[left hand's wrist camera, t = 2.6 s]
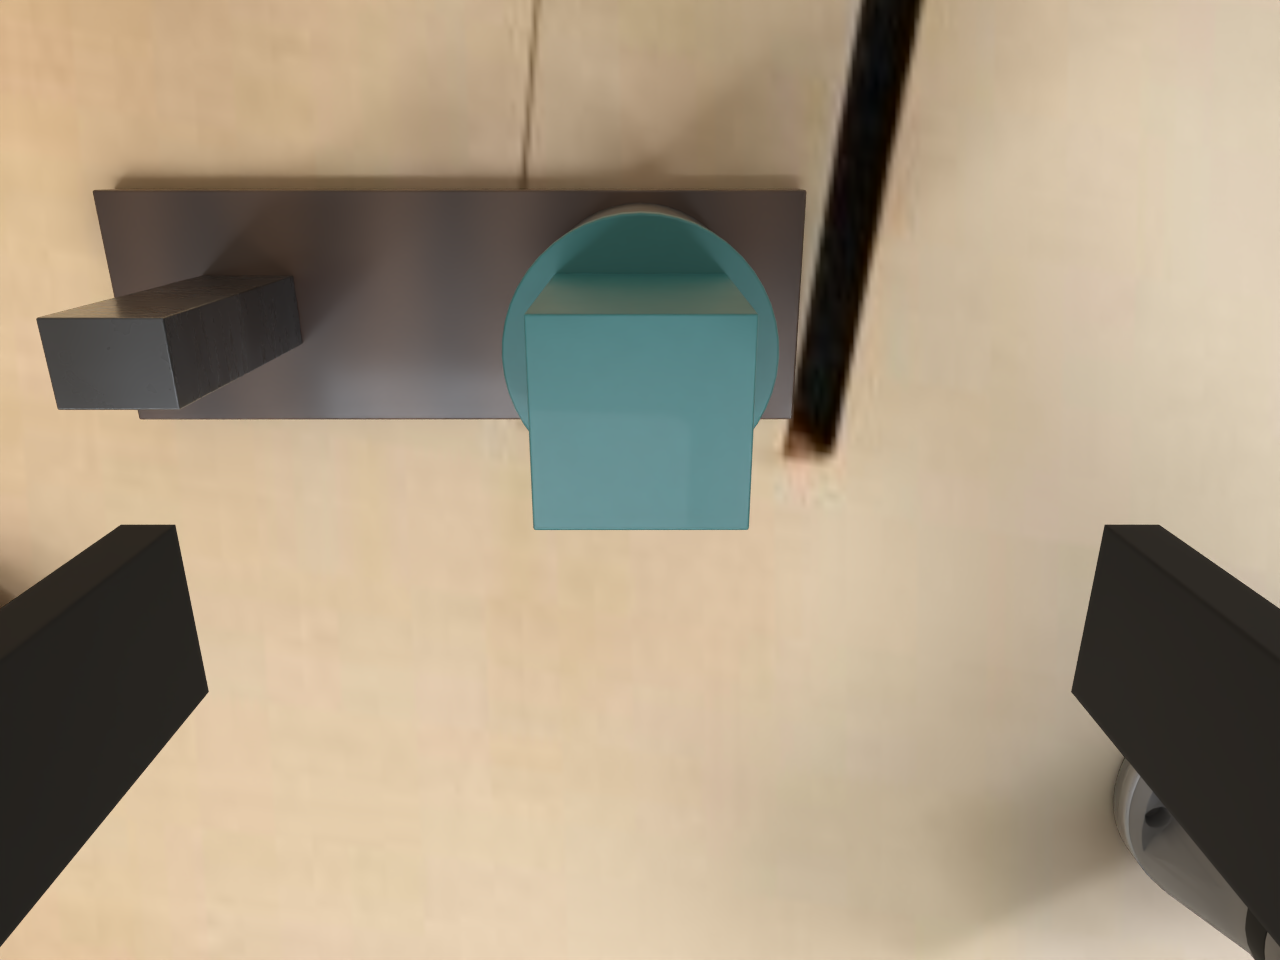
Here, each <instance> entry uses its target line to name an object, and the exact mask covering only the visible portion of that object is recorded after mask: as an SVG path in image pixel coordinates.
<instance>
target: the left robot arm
mask: <svg viewBox="0 0 1280 960" xmlns="http://www.w3.org/2000/svg"><path fill="white" fill-rule="evenodd" d="M208 692H209V691H208V686H207V681H206V676H205V671H204V666H203V661H202V656H201V651H200V646H199V641H198V636H197V631H196V626H195V621H194V616H193V611H192V606H191V601H190V596H189V591H188V586H187V581H186V576H185V571H184V566H183V561H182V556H181V551H180V546H179V541H178V536H177V531H176V526H175V525H120V526H119V527H117V528H116V529H114V530H113V531H111V532H110V533H108V534H107V535H106V536H104V537H103V538H101V539H100V540H98V541H97V542H96V543H94V544H93V545H91V546H90V547H88V548H87V549H85V550H84V551H83V552H81V553H80V554H78V555H77V556H75V557H74V558H73V559H71V560H70V561H68V562H67V563H65V564H64V565H62V566H61V567H60V568H58V569H57V570H55V571H54V572H52V573H51V574H50V575H48V576H47V577H45V578H44V579H42V580H41V581H40V582H38V583H37V584H35V585H34V586H32V587H31V588H29V589H28V590H27V591H25V592H24V593H22V594H21V595H19V596H18V597H17V598H15V599H14V600H12V601H11V602H9V603H8V604H6V605H5V606H4V607H2V608H1V609H0V947H1V945H2V944H3V943H4V942H5V941H6V939H7V938H8V937H9V936H10V934H11V933H12V932H13V931H14V930H15V928H16V927H17V926H18V925H19V923H20V922H21V921H22V920H23V918H24V917H25V916H26V915H27V914H28V912H29V911H30V910H31V909H32V907H33V906H34V905H35V904H36V903H37V901H38V900H39V899H40V898H41V896H42V895H43V894H44V893H45V892H46V890H47V889H48V888H49V887H50V885H51V884H52V883H53V882H54V881H55V879H56V878H57V877H58V876H59V874H60V873H61V872H62V871H63V870H64V868H65V867H66V866H67V865H68V863H69V862H70V861H71V860H72V858H73V857H74V856H75V855H76V854H77V852H78V851H79V850H80V849H81V847H82V846H83V845H84V844H85V843H86V841H87V840H88V839H89V838H90V836H91V835H92V834H93V833H94V832H95V830H96V829H97V828H98V827H99V825H100V824H101V823H102V822H103V821H104V819H105V818H106V817H107V816H108V814H109V813H110V812H111V811H112V810H113V808H114V807H115V806H116V805H117V803H118V802H119V801H120V800H121V799H122V797H123V796H124V795H125V794H126V792H127V791H128V790H129V789H130V787H131V786H132V785H133V784H134V783H135V781H136V780H137V779H138V778H139V776H140V775H141V774H142V773H143V772H144V770H145V769H146V768H147V767H148V765H149V764H150V763H151V762H152V761H153V759H154V758H155V757H156V756H157V754H158V753H159V752H160V751H161V750H162V748H163V747H164V746H165V745H166V743H167V742H168V741H169V740H170V739H171V737H172V736H173V735H174V734H175V732H176V731H177V730H178V729H179V727H180V726H181V725H182V724H183V723H184V721H185V720H186V719H187V718H188V716H189V715H190V714H191V713H192V712H193V710H194V709H195V708H196V707H197V705H198V704H199V703H200V702H201V701H202V699H203V698H204V697H205V696H206V694H207V693H208ZM1071 692H1072V693H1073V694H1074V696H1075V697H1076V698H1077V699H1078V701H1079V702H1080V703H1081V704H1082V705H1083V707H1084V708H1085V709H1086V710H1087V712H1088V713H1089V714H1090V715H1091V716H1092V718H1093V719H1094V720H1095V721H1096V723H1097V724H1098V725H1099V726H1100V727H1101V729H1102V730H1103V731H1104V732H1105V734H1106V735H1107V736H1108V737H1109V739H1110V740H1111V741H1112V742H1113V743H1114V745H1115V746H1116V747H1117V748H1118V750H1119V751H1120V752H1121V753H1122V754H1123V756H1124V757H1125V759H1124V761H1123V763H1122V765H1121V768H1120V771H1119V773H1118V776H1117V780H1116V785H1115V790H1114V816H1115V821H1116V825H1117V828H1118V831H1119V833H1120V836H1121V838H1122V840H1123V841H1124V843H1125V845H1126V846H1127V848H1128V849H1129V851H1130V852H1131V853H1132V855H1133V856H1134V858H1135V859H1136V860H1137V862H1138V863H1139V865H1140V866H1141V867H1142V869H1143V870H1144V871H1145V873H1146V874H1147V875H1148V876H1149V877H1150V878H1151V879H1152V880H1153V881H1154V882H1155V883H1157V884H1158V885H1159V886H1160V887H1161V888H1162V889H1163V890H1164V891H1165V892H1167V893H1168V894H1169V895H1170V896H1172V897H1173V898H1175V899H1176V900H1177V901H1179V902H1180V903H1181V904H1183V905H1184V906H1185V907H1187V908H1188V909H1190V910H1191V911H1192V912H1194V913H1195V914H1196V915H1198V916H1199V917H1201V918H1202V919H1203V920H1205V921H1206V922H1207V923H1209V924H1210V925H1211V926H1213V927H1214V928H1216V929H1217V930H1218V931H1220V932H1221V933H1222V934H1224V935H1225V936H1227V937H1228V938H1229V939H1231V940H1232V941H1233V942H1235V943H1236V944H1237V945H1239V946H1240V947H1242V948H1243V949H1244V950H1246V951H1247V952H1248V953H1250V954H1251V956H1252V957H1253V958H1254V959H1255V960H1280V609H1279V608H1278V607H1276V606H1275V605H1274V604H1272V603H1271V602H1269V601H1268V600H1266V599H1265V598H1263V597H1262V596H1261V595H1259V594H1258V593H1256V592H1255V591H1253V590H1252V589H1251V588H1249V587H1248V586H1246V585H1245V584H1243V583H1242V582H1240V581H1239V580H1238V579H1236V578H1235V577H1233V576H1232V575H1230V574H1229V573H1228V572H1226V571H1225V570H1223V569H1222V568H1220V567H1219V566H1217V565H1216V564H1215V563H1213V562H1212V561H1210V560H1209V559H1207V558H1206V557H1205V556H1203V555H1202V554H1200V553H1199V552H1197V551H1196V550H1195V549H1193V548H1192V547H1190V546H1189V545H1187V544H1186V543H1184V542H1183V541H1182V540H1180V539H1179V538H1177V537H1176V536H1174V535H1173V534H1172V533H1170V532H1169V531H1167V530H1166V529H1164V528H1163V527H1161V526H1160V525H1105V526H1104V531H1103V536H1102V541H1101V546H1100V551H1099V556H1098V561H1097V566H1096V571H1095V576H1094V581H1093V586H1092V591H1091V596H1090V601H1089V606H1088V611H1087V616H1086V621H1085V626H1084V631H1083V636H1082V641H1081V646H1080V651H1079V656H1078V661H1077V666H1076V671H1075V676H1074V681H1073V686H1072V691H1071Z"/></svg>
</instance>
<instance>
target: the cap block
mask: <svg viewBox="0 0 1280 960" xmlns="http://www.w3.org/2000/svg"><path fill="white" fill-rule="evenodd" d="M502 362H503V371H504V377H505V381H506V385H507V389H508V392H509V395H510V397H511V400H512V402H513V405H514V407H515V410H516V411H517V413H518V415H519V417H520V418H521V420H522V422H523V424H524V425H525V427H526V428H527V429H528V431H529V442H530V463H531V485H532V507H533V528H534V530H747V529H748V528H749V513H750V491H751V470H752V449H753V429H754V428H755V426H756V425H757V424H758V422H759V420H760V418H761V416H762V415H763V413H764V411H765V409H766V407H767V405H768V402H769V400H770V397H771V395H772V392H773V388H774V384H775V381H776V377H777V370H778V362H779V337H778V330H777V323H776V319H775V315H774V312H773V308H772V305H771V302H770V300H769V297H768V295H767V293H766V291H765V288H764V286H763V285H762V283H761V281H760V280H759V278H758V276H757V275H756V273H755V272H754V270H753V269H752V268H751V267H750V265H749V264H748V263H747V262H746V260H745V259H744V258H743V257H742V256H741V255H740V254H739V253H738V252H737V251H736V250H735V249H734V248H733V247H732V246H731V245H729V244H728V243H727V242H726V241H725V240H723V239H722V238H720V237H719V236H718V235H716V234H715V233H713V232H712V231H710V230H708V229H706V228H704V227H703V226H701V225H699V224H697V223H695V222H692V221H689V220H686V219H684V218H681V217H678V216H674V215H669V214H664V213H659V212H645V211H636V212H622V213H617V214H612V215H607V216H603V217H600V218H597V219H595V220H592V221H589V222H586V223H584V224H582V225H580V226H578V227H577V228H575V229H573V230H571V231H569V232H568V233H566V234H565V235H563V236H562V237H561V238H559V239H558V240H556V241H555V242H554V243H553V244H552V245H551V246H549V247H548V248H547V249H546V250H545V251H544V252H543V253H542V254H541V255H540V256H539V257H538V258H537V259H536V260H535V262H534V263H533V264H532V265H531V267H530V268H529V269H528V270H527V272H526V273H525V275H524V277H523V278H522V280H521V281H520V283H519V285H518V286H517V288H516V291H515V293H514V295H513V298H512V300H511V302H510V305H509V308H508V312H507V315H506V319H505V323H504V330H503V337H502Z"/></svg>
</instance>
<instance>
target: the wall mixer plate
mask: <svg viewBox="0 0 1280 960" xmlns="http://www.w3.org/2000/svg"><path fill="white" fill-rule="evenodd" d="M93 195H94V200H95V205H96V210H97V215H98V220H99V224H100V229H101V234H102V239H103V244H104V249H105V253H106V258H107V263H108V268H109V273H110V278H111V283H112V287H113V292H114V297H115V298H112V299H108V300H105V301H101V302H97V303H93V304H89V305H85V306H81V307H77V308H73V309H69V310H66V311H62V312H58V313H54V314H50V315H46V316H42V317H38V318H37V319H36V320H37V324H38V328H39V332H40V336H41V341H42V345H43V349H44V353H45V357H46V362H47V366H48V370H49V374H50V378H51V382H52V387H53V391H54V395H55V399H56V403H57V408H58V409H59V410H138V413H139V418H140V419H521V418H520V417H519V415H518V413H517V411H516V410H515V407H514V405H513V402H512V400H511V397H510V395H509V392H508V389H507V385H506V381H505V377H504V371H503V362H502V337H503V330H504V323H505V319H506V315H507V312H508V308H509V305H510V302H511V300H512V298H513V295H514V293H515V291H516V288H517V286H518V285H519V283H520V281H521V280H522V278H523V277H524V275H525V273H526V272H527V270H528V269H529V268H530V267H531V265H532V264H533V263H534V262H535V260H536V259H537V258H538V257H539V256H540V255H541V254H542V253H543V252H544V251H545V250H546V249H547V248H548V247H549V246H551V245H552V244H553V243H554V242H555V241H556V240H558V239H559V238H561V237H562V236H563V235H565V234H566V233H568V232H569V231H571V230H573V229H575V228H577V227H578V226H580V225H582V224H584V223H586V222H589V221H592V220H595V219H597V218H600V217H603V216H607V215H612V214H617V213H622V212H636V211H645V212H659V213H664V214H669V215H674V216H678V217H681V218H684V219H686V220H689V221H692V222H695V223H697V224H699V225H701V226H703V227H704V228H706V229H708V230H710V231H712V232H713V233H715V234H716V235H718V236H719V237H720V238H722V239H723V240H725V241H726V242H727V243H728V244H729V245H731V246H732V247H733V248H734V249H735V250H736V251H737V252H738V253H739V254H740V255H741V256H742V257H743V258H744V259H745V260H746V262H747V263H748V264H749V265H750V267H751V268H752V269H753V270H754V272H755V273H756V275H757V276H758V278H759V280H760V281H761V283H762V285H763V286H764V288H765V291H766V293H767V295H768V297H769V300H770V302H771V305H772V308H773V312H774V315H775V319H776V323H777V330H778V337H779V362H778V370H777V377H776V381H775V384H774V388H773V392H772V395H771V397H770V400H769V402H768V405H767V407H766V409H765V411H764V413H763V415H762V416H761V418H760V419H792V411H793V395H794V380H795V364H796V348H797V332H798V316H799V300H800V284H801V268H802V252H803V236H804V220H805V204H806V191H805V190H801V189H107V190H94V191H93Z"/></svg>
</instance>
